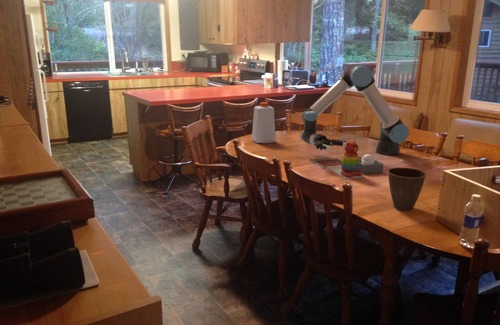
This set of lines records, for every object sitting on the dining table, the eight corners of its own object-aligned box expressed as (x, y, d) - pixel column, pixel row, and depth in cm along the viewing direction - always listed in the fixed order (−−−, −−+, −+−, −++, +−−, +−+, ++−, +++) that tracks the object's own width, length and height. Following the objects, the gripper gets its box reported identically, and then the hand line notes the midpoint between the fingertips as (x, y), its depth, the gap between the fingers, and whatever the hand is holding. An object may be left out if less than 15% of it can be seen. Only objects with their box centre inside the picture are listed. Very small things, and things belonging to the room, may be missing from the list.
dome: (369, 165, 242) (371, 152, 240) (376, 169, 236) (377, 155, 234) (358, 166, 241) (359, 152, 238) (364, 170, 234) (366, 156, 232)
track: (338, 159, 261) (338, 158, 261) (369, 176, 226) (369, 176, 226) (311, 160, 257) (311, 160, 257) (339, 179, 222) (339, 178, 222)
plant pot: (383, 211, 180) (387, 175, 175) (386, 199, 193) (389, 166, 189) (421, 216, 175) (426, 179, 170) (421, 204, 188) (425, 169, 184)
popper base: (371, 166, 246) (372, 158, 244) (382, 172, 234) (383, 163, 233) (352, 168, 243) (353, 159, 241) (362, 174, 231) (363, 165, 230)
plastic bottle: (269, 138, 317) (270, 101, 310) (277, 142, 303) (278, 103, 296) (250, 139, 313) (250, 101, 305) (257, 144, 299) (257, 104, 291)
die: (354, 162, 254) (355, 153, 252) (360, 164, 249) (361, 155, 248) (348, 164, 251) (348, 154, 250) (354, 166, 247) (354, 156, 246)
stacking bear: (347, 178, 223) (350, 145, 218) (335, 173, 231) (337, 141, 227) (363, 175, 228) (366, 143, 223) (351, 170, 236) (353, 139, 231)
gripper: (335, 144, 260) (358, 152, 241) (300, 148, 249) (321, 156, 231) (336, 132, 258) (358, 139, 239) (301, 136, 247) (321, 143, 229)
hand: (340, 147), depth 235 cm, fingers open, 13 cm apart
